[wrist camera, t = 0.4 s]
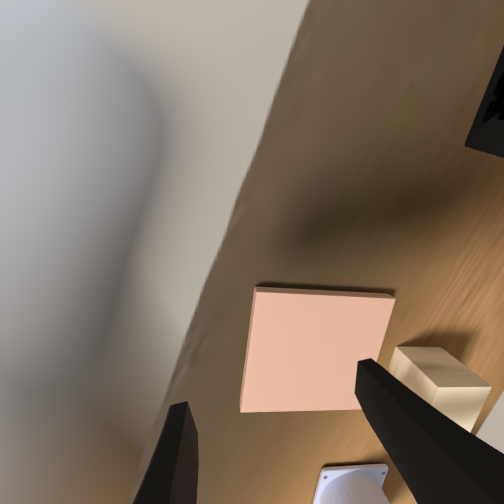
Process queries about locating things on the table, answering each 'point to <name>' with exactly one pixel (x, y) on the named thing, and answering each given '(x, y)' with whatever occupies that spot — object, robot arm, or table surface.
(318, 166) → the table surface
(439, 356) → the birch cube
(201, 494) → the table surface
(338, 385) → the salmon pink board
